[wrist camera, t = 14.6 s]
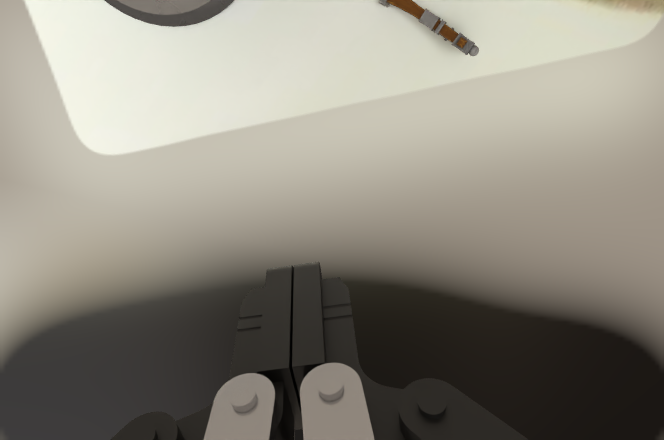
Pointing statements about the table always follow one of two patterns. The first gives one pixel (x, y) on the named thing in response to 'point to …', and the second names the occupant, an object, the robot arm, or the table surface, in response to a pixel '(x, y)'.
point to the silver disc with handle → (164, 5)
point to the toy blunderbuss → (435, 25)
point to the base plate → (206, 11)
